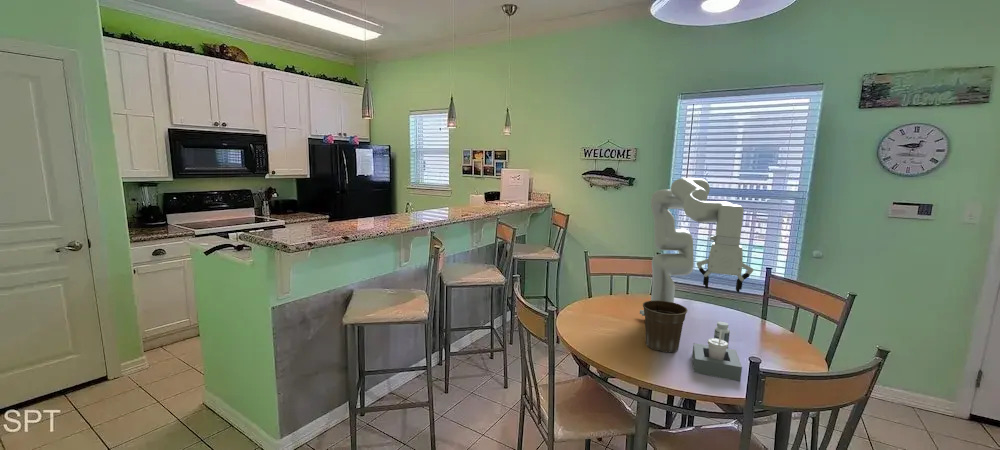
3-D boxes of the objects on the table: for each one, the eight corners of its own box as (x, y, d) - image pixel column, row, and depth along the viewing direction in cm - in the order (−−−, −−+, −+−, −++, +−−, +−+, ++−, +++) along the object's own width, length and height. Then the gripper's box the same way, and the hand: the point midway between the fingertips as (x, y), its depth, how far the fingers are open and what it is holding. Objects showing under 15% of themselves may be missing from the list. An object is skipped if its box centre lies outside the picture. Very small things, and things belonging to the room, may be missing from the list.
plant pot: (630, 340, 168) (633, 302, 166) (661, 335, 175) (664, 298, 172) (660, 358, 154) (664, 316, 151) (693, 351, 160) (697, 311, 158)
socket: (694, 372, 144) (695, 358, 143) (692, 355, 156) (693, 343, 156) (740, 381, 138) (742, 367, 138) (734, 363, 151) (736, 350, 150)
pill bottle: (726, 342, 169) (729, 322, 167) (729, 348, 164) (731, 326, 162) (712, 340, 170) (714, 320, 169) (714, 346, 165) (716, 324, 164)
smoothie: (727, 373, 144) (732, 334, 142) (707, 370, 145) (712, 332, 143) (722, 364, 150) (726, 327, 148) (702, 362, 151) (706, 325, 149)
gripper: (699, 240, 142) (694, 288, 144) (758, 245, 135) (752, 296, 138) (698, 236, 148) (693, 282, 151) (754, 241, 142) (748, 289, 145)
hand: (721, 289), depth 145 cm, fingers open, 9 cm apart
